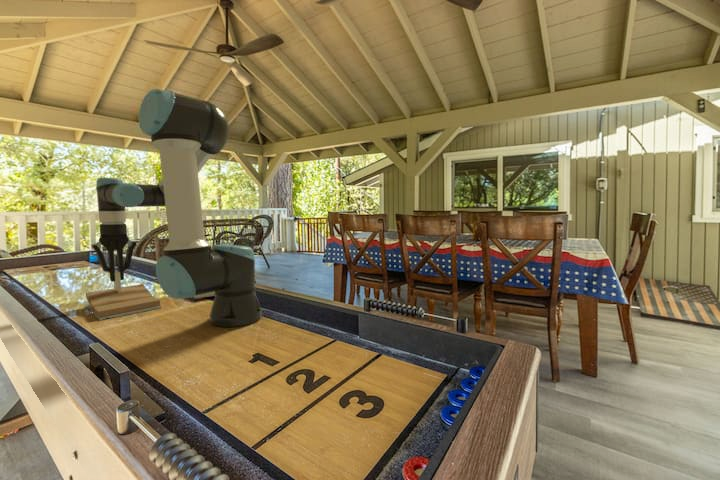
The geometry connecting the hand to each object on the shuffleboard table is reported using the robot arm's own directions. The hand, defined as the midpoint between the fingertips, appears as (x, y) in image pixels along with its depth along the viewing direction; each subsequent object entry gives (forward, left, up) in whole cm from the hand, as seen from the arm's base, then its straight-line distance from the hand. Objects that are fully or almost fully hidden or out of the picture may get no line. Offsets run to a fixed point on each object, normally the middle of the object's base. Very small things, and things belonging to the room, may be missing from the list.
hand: (117, 289), depth 120 cm
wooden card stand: (-6, 0, -5) cm, 8 cm away
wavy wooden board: (-2, 0, -3) cm, 4 cm away
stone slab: (-3, -25, -6) cm, 26 cm away
